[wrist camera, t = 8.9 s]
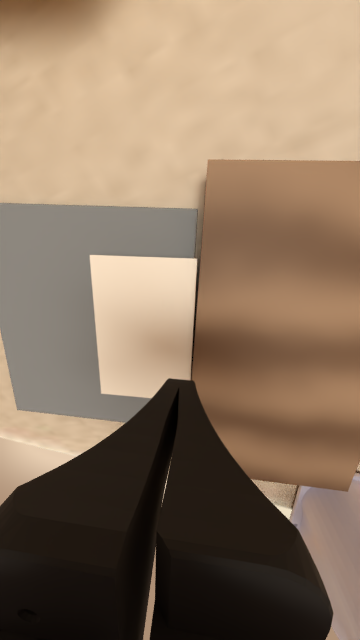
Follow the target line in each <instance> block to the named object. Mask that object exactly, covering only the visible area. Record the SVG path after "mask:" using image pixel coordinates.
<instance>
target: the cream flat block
mask: <svg viewBox="0 0 360 640" xmlns="http://www.w3.org/2000/svg"><path fill="white" fill-rule="evenodd" d="M197 261H198V259H192V258H164V257H136V256H108V255H90V267H91V279H92V290H93V302H94V314H95V326H96V338H97V350H98V361H99V373H100V385H101V394H111V395H122V396H133V397H143V398H152V397H153V396H154V395H155V394H156V393H157V392H158V390H159V389H160V388H161V387H162V385H163V384H164V383H165V381H166V380H167V379H169V378H171V379H181V380H191V365H192V348H193V330H194V313H195V296H196V278H197Z"/></svg>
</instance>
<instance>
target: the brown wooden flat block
mask: <svg viewBox="0 0 360 640" xmlns="http://www.w3.org/2000/svg"><path fill="white" fill-rule="evenodd" d="M192 381H194V382H195V385H196V389H197V393H198V396H199V398H200V401H201V403H202V406H203V408H204V410H205V412H206V414H207V416H208V418H209V420H210V422H211V424H212V426H213V428H214V429H215V431H216V433H217V434H218V436H219V437H220V439H221V441H222V442H223V444H224V445H225V447H226V448H227V449H228V451H229V452H230V454H231V455H232V457H233V458H234V459H235V460H236V462H237V463H238V464H239V465H240V467H241V468H242V469H243V470H244V472H245V473H246V474H247V475H248V477H249V478H250V479H255V480H263V481H270V482H278V483H285V484H293V485H300V486H308V487H315V488H323V489H330V490H338V491H345V492H348V490H349V487H350V485H351V482H352V479H353V477H354V474H355V472H356V469H357V467H358V464H359V461H360V161H291V160H208V166H207V179H206V193H205V206H204V220H203V233H202V247H201V260H200V274H199V288H198V301H197V315H196V328H195V342H194V355H193V369H192Z"/></svg>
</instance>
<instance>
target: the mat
mask: <svg viewBox="0 0 360 640" xmlns="http://www.w3.org/2000/svg"><path fill="white" fill-rule="evenodd" d="M197 211H198V210H197V209H182V208H148V207H115V206H81V205H48V204H14V203H0V330H1V335H2V340H3V344H4V349H5V354H6V359H7V363H8V368H9V373H10V378H11V382H12V387H13V392H14V397H15V401H16V406H17V410H23V411H31V412H40V413H49V414H57V415H66V416H74V417H83V418H91V419H100V420H108V421H117V422H125V423H126V422H128V421H129V420H130V419H131V418H132V417H133V416H134V415H135V414H136V413H137V412H139V411H140V410H141V409H142V408H143V407H144V406H145V405H146V404H147V403H148V402H149V401H150V399H151V398H143V397H133V396H122V395H111V394H101V385H100V373H99V361H98V350H97V338H96V326H95V314H94V302H93V290H92V279H91V267H90V255H108V256H136V257H164V258H192V259H194V257H195V241H196V226H197Z"/></svg>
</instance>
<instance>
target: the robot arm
mask: <svg viewBox="0 0 360 640" xmlns="http://www.w3.org/2000/svg"><path fill="white" fill-rule="evenodd" d="M171 457H172V459H171ZM170 462H171V464H170ZM169 466H170V469H169ZM168 471H169V474H168ZM167 475H168V479H167ZM166 479H167V485H166V489H165V483H166ZM164 489H165V494H164ZM163 494H164V498H163ZM162 500H163V503H162ZM161 506H162V507H161ZM155 547H156V581H155V604H154V612H153V619H152V626H151V633H150V640H325V639H326V637H327V635H328V633H329V631H330V627H331V626H332V628H333V630H334V632H335V633H336V635H337V637H338V638H339V640H360V473H355V474H354V477H353V479H352V482H351V485H350V487H349V490H348V492H345V491H338V490H330V489H323V488H315V487H308V486H300V485H299V489H298V492H297V495H296V499H295V502H294V506H293V509H292V513H291V516H290V519H289V520H288V519H287V518H286V517H285V516H284V515H283V514H282V513H281V512H280V511H279V510H278V509H277V508H276V507H275V506H274V505H273V504H272V503H271V502H270V501H269V500H268V499H267V497H266V496H265V495H264V494H263V493H262V492H261V491H260V490H259V488H258V487H257V486H256V485H255V484H254V483H253V482H252V480H251V479H250V478H249V477H248V475H247V474H246V473H245V472H244V470H243V469H242V468H241V467H240V465H239V464H238V463H237V462H236V460H235V459H234V458H233V457H232V455H231V454H230V452H229V451H228V449H227V448H226V447H225V445H224V444H223V442H222V441H221V439H220V437H219V436H218V434H217V433H216V431H215V429H214V428H213V426H212V424H211V422H210V420H209V418H208V416H207V414H206V412H205V410H204V408H203V406H202V403H201V401H200V398H199V396H198V393H197V389H196V385H195V382H194V381H192V380H181V379H171V378H169V379H167V380H166V381H165V383H164V384H163V385H162V387H161V388H160V389H159V390H158V392H157V393H156V394H155V395H154V396H153V397H152V398H151V399H150V401H149V402H148V403H147V404H146V405H145V406H144V407H143V408H142V409H141V410H140V411H139V412H137V413H136V414H135V415H134V416H133V417H132V418H131V419H130V420H129V421H128V422H126V423H125V424H124V425H123V426H121V427H120V428H119V429H118V430H116V431H115V432H114V433H112V434H111V435H110V436H108V437H107V438H105V439H104V440H102V441H101V442H100V443H98V444H97V445H95V446H94V447H92V448H90V449H89V450H87V451H86V452H84V453H82V454H81V455H79V456H77V457H75V458H74V459H72V460H70V461H69V462H67V463H65V464H63V465H61V466H59V467H58V468H55V469H53V470H52V471H49V472H47V473H45V474H43V475H41V476H39V477H37V478H35V479H33V480H31V481H29V482H27V483H25V484H23V485H21V486H19V487H17V488H16V489H15V490H14V491H13V493H12V494H11V495H10V496H9V497H8V498H7V499H6V500H5V501H4V503H3V504H2V505H1V506H0V640H143V635H144V627H145V620H146V612H147V605H148V598H149V590H150V584H151V576H152V568H153V562H154V555H155Z"/></svg>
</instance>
